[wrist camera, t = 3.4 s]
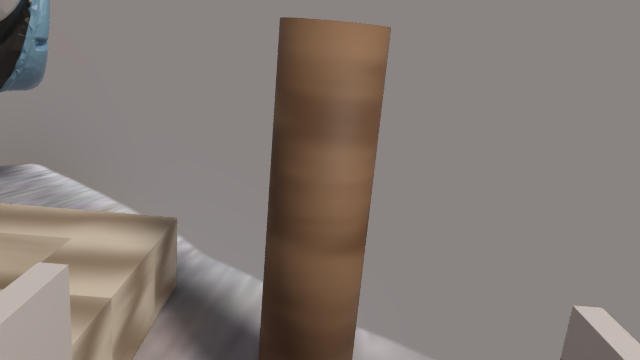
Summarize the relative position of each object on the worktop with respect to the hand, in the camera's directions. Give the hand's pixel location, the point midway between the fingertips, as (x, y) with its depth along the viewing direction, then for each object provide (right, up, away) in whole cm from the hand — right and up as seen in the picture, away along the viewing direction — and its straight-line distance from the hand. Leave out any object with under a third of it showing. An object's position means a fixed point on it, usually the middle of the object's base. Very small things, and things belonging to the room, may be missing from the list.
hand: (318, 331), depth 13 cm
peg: (-1, -7, +12) cm, 14 cm away
